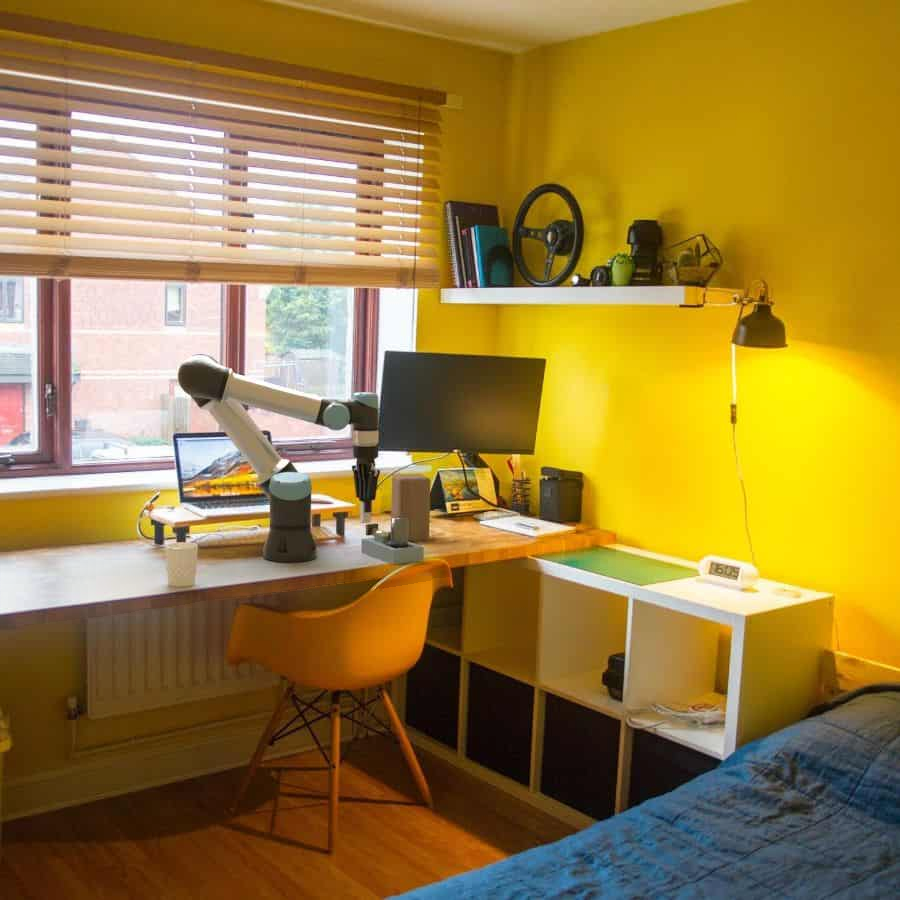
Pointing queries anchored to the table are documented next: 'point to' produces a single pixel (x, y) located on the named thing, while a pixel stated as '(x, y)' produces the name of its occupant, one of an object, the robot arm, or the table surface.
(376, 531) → the lock pin
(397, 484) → the wooden block
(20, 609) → the table surface
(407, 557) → the mount
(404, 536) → the spigot
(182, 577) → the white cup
